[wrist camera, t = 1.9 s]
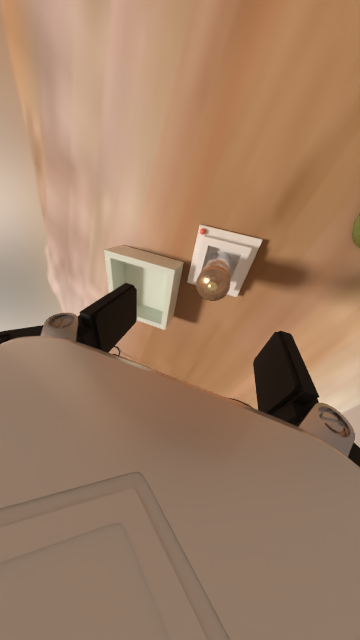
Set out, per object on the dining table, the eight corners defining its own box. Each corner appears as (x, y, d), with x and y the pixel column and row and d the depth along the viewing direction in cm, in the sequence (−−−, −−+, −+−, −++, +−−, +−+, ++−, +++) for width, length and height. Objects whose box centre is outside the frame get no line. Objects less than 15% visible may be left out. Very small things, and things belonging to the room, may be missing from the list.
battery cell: (235, 254, 23) (235, 275, 15) (227, 278, 25) (222, 307, 17) (212, 248, 24) (199, 265, 16) (205, 272, 26) (191, 297, 18)
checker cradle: (261, 239, 22) (264, 241, 20) (236, 294, 27) (236, 300, 25) (201, 224, 23) (197, 225, 21) (188, 280, 28) (184, 285, 27)
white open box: (183, 262, 27) (174, 270, 23) (173, 316, 34) (165, 330, 30) (122, 245, 28) (104, 249, 25) (124, 300, 36) (111, 311, 32)
